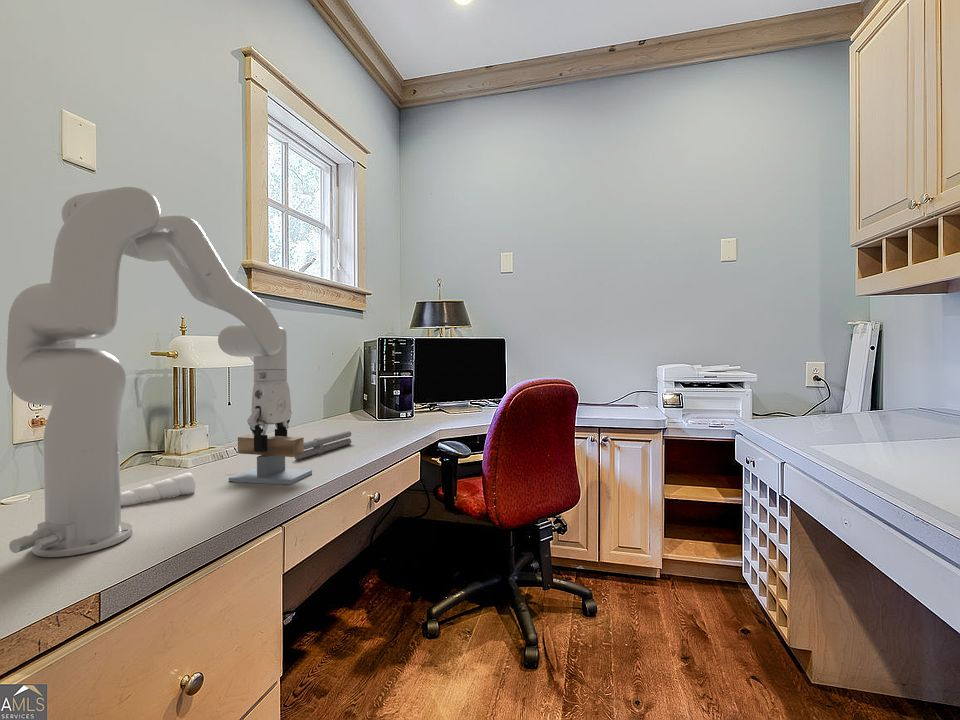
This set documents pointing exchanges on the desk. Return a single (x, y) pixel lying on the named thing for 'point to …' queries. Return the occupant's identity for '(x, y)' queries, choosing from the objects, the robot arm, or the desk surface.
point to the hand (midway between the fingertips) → (271, 447)
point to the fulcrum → (271, 472)
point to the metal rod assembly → (321, 448)
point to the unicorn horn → (160, 490)
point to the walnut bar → (273, 446)
